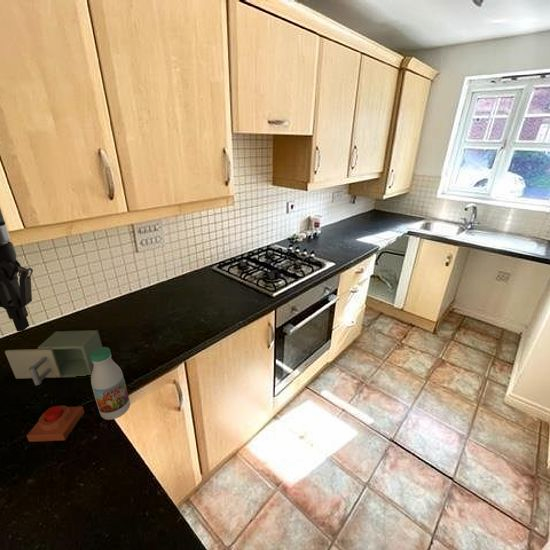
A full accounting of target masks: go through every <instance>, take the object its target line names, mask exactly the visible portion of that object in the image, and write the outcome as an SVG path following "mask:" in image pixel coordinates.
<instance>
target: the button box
mask: <svg viewBox="0 0 550 550" xmlns="http://www.w3.org/2000/svg"><path fill="white" fill-rule="evenodd" d="M58 406H59V407H61V410H62V416H61V417H59V418H58V419H57V420H54V421H52V422H48V421H46V419H45V416H44V413H45V412H43V413H42V414H41V416H40V417H38V421H37V422H36V423H35V425H34V426H33V427H32V428H31V429H30V431H28V433H27V434H26V438H27V441H28V442H29V443H31V442H33V443H34V442H35V443H36V442H55V441H56V442H57V441H66V440H67V438H68V437H69V436H70V434H71V432H72V431H73V430H74V428H75V427H76V425H77V424H78V423H79V421H80V420H81V419H82V417H83V415H84V414H85V410H84V407H83V406H66V405H58Z"/></svg>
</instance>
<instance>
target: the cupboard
mask: <svg viewBox="0 0 550 550" xmlns="http://www.w3.org/2000/svg"><path fill="white" fill-rule="evenodd" d="M100 347H103V344H102V341H101V337H100V333H99V330H98V329H96V330H65V331H63V330H62V331H55V332H54V333H52V334H51V335H50V336H49V337H48V338H46V339H45V340H44V341H43V342H42V343H41V344H40V345H38V346H37V349H53V352H54V355H55V358H56V360H57V363H58V366H59V369H60V372H61V375H62V376H61V377H50V378H49V379H55V378H56V379H57V378H58V379H59V378H77V377H76V376H86V375H92V371H93V366H94V364H93V363H92V360H91V357H90V354H91V352H92V351H93V350H95V349H97V348H100Z"/></svg>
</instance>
